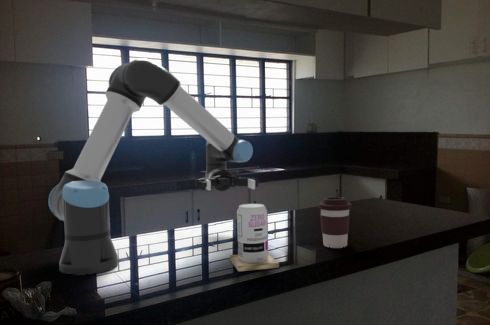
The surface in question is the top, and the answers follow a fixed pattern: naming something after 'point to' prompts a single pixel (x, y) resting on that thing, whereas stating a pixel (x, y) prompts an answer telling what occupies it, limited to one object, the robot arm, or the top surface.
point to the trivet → (253, 264)
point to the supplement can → (252, 233)
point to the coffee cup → (335, 221)
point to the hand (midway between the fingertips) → (231, 185)
